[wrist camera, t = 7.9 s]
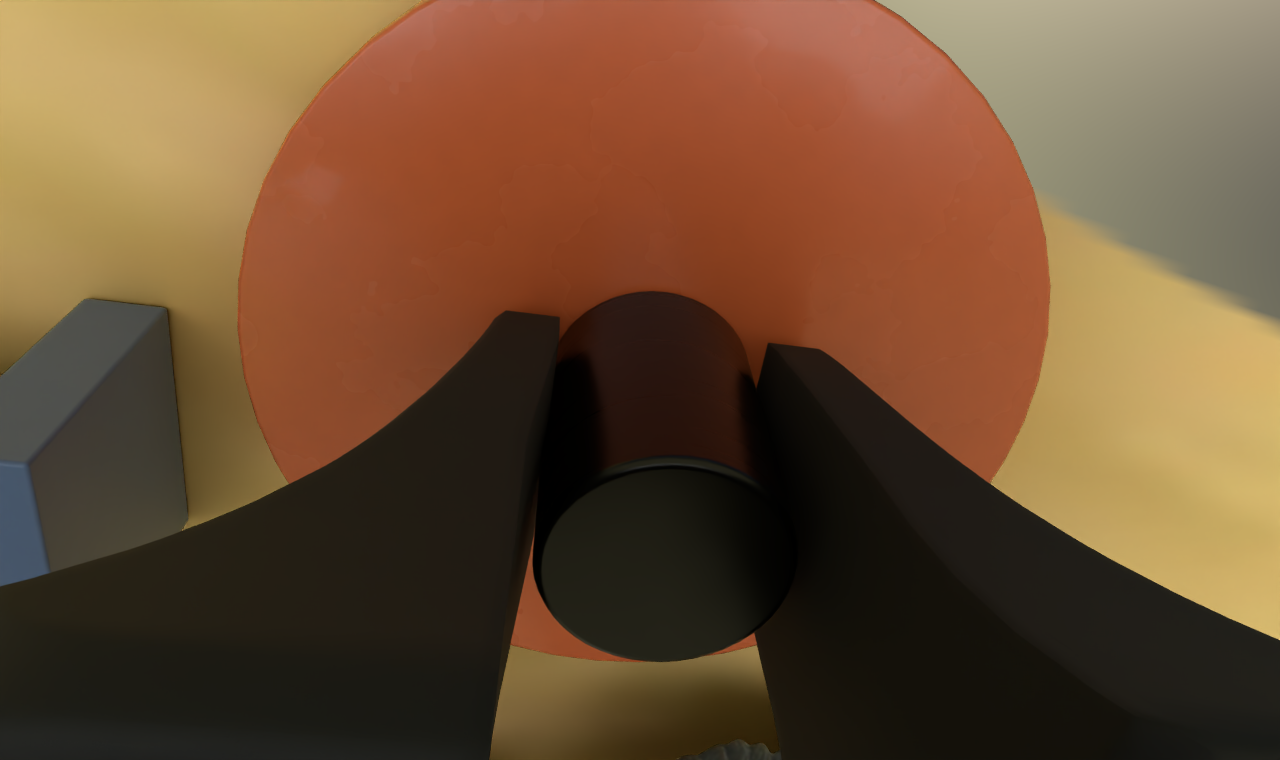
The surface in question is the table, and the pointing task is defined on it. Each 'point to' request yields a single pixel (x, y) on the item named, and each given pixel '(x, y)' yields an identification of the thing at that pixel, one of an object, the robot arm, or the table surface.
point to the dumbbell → (89, 441)
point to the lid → (647, 273)
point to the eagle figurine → (735, 752)
